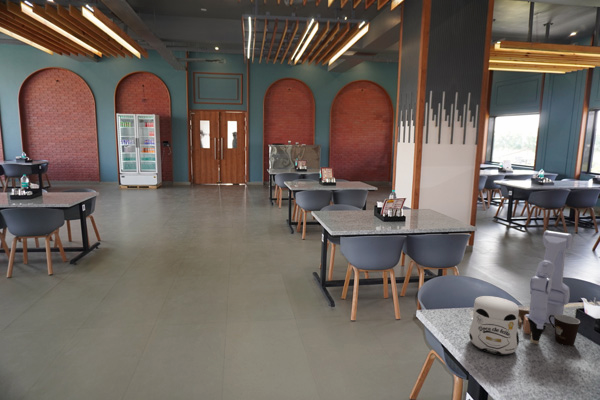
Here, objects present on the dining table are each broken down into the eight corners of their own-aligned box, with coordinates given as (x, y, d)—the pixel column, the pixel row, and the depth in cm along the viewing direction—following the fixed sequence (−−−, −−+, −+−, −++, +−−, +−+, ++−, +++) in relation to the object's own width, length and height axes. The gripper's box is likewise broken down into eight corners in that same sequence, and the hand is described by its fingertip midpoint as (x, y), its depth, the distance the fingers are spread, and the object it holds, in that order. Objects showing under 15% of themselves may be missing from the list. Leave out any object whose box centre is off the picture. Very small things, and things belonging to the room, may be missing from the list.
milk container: (486, 360, 142) (490, 313, 139) (459, 337, 159) (463, 295, 156) (528, 357, 144) (533, 311, 142) (497, 335, 161) (501, 294, 159)
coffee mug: (581, 349, 152) (584, 324, 150) (557, 346, 153) (560, 322, 152) (567, 335, 163) (570, 312, 162) (545, 332, 165) (547, 310, 163)
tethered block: (522, 328, 168) (524, 315, 168) (536, 330, 166) (537, 317, 166) (527, 342, 156) (529, 328, 155) (542, 345, 154) (543, 331, 153)
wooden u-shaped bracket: (516, 319, 177) (517, 308, 177) (536, 322, 174) (537, 312, 174) (519, 327, 169) (520, 316, 169) (539, 330, 166) (541, 319, 166)
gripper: (524, 298, 162) (521, 328, 164) (529, 311, 149) (526, 344, 151) (543, 301, 159) (540, 332, 161) (551, 314, 146) (547, 348, 148)
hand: (534, 338), depth 156 cm, fingers closed on tethered block, 3 cm apart
